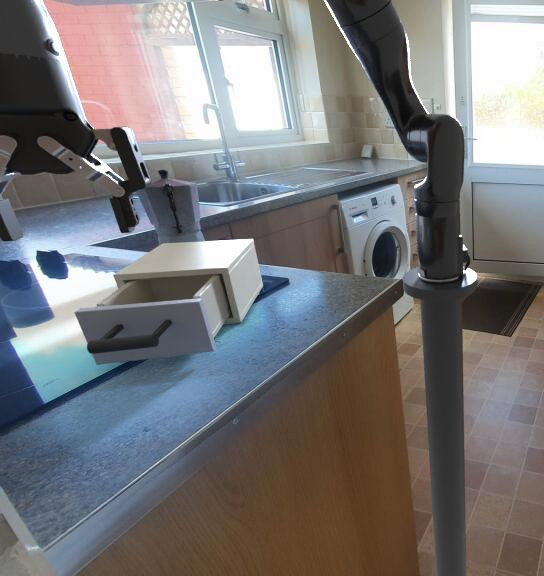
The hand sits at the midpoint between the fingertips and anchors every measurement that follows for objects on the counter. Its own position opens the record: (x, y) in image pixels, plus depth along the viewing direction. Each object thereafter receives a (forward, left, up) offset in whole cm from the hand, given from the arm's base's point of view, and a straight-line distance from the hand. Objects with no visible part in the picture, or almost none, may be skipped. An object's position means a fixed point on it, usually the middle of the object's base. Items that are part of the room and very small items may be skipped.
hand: (73, 235), depth 41 cm
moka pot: (+8, -45, -19) cm, 49 cm away
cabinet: (-1, -24, -19) cm, 30 cm away
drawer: (-1, -10, -18) cm, 20 cm away
